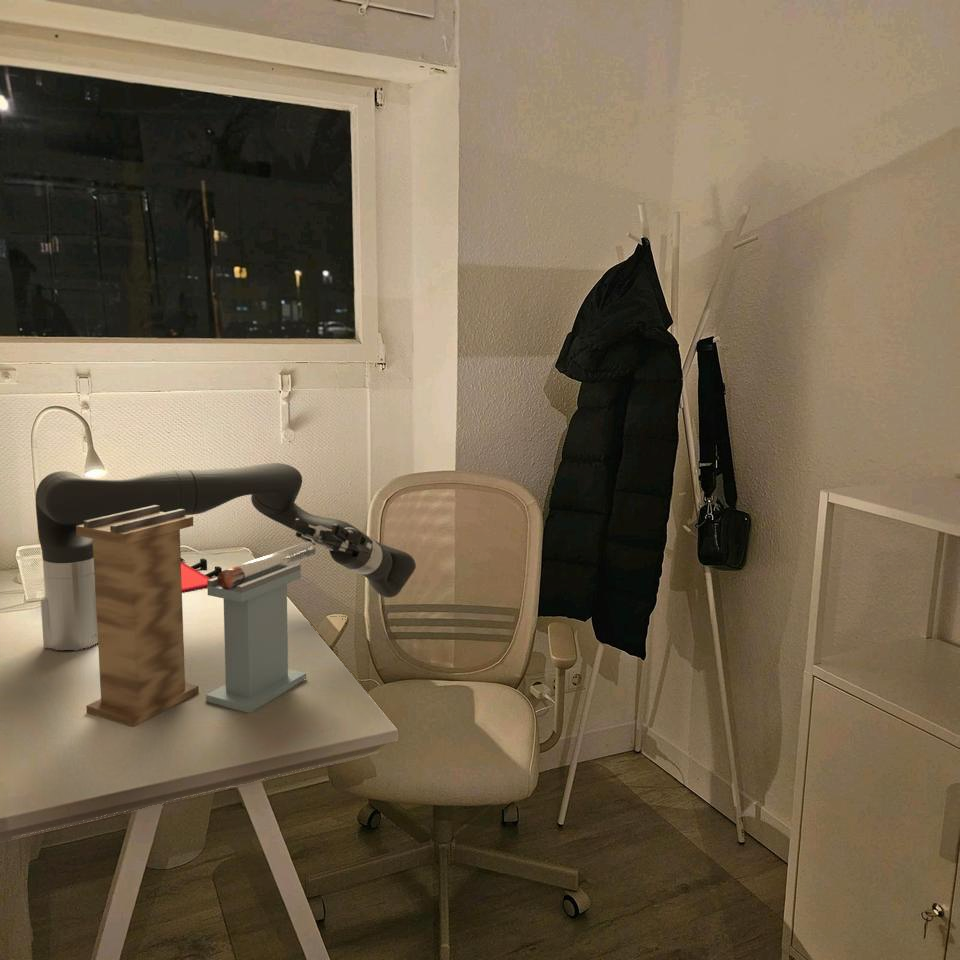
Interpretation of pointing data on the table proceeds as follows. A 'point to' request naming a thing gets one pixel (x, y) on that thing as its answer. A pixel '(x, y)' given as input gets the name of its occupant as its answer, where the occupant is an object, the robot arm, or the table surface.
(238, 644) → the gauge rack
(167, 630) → the stand
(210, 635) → the table surface
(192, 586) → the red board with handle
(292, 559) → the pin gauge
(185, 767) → the table surface
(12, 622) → the table surface
